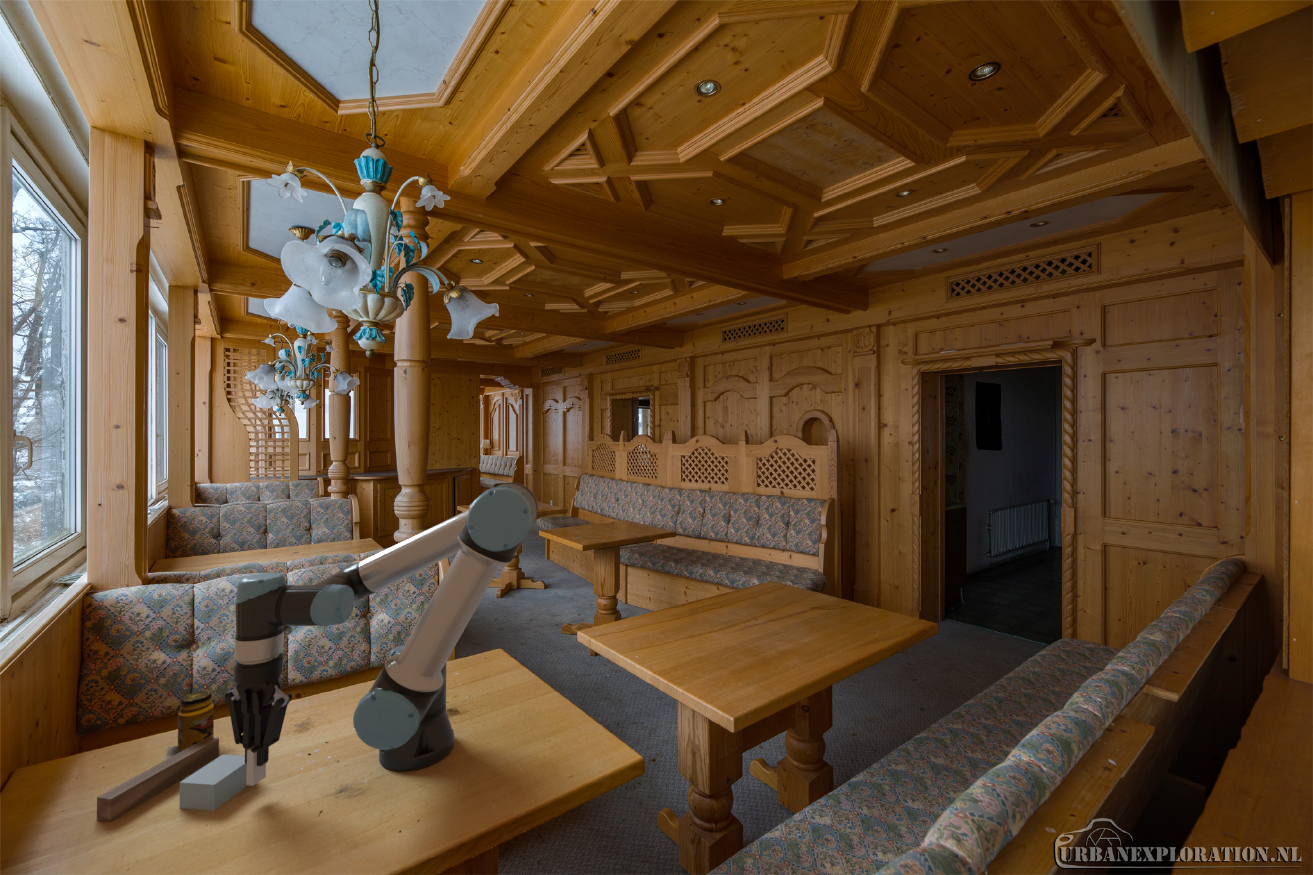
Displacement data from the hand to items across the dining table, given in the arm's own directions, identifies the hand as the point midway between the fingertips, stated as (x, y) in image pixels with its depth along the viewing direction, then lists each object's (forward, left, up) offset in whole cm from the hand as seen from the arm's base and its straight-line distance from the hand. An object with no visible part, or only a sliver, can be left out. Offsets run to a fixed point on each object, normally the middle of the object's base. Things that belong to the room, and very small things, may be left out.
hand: (256, 780), depth 103 cm
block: (+9, 0, -4) cm, 9 cm away
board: (+22, 0, -4) cm, 22 cm away
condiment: (+29, -11, -4) cm, 31 cm away
